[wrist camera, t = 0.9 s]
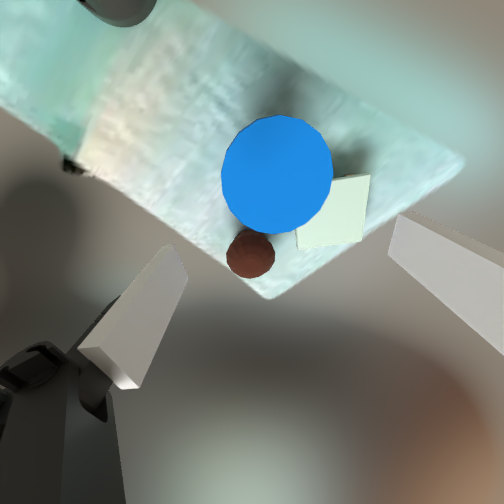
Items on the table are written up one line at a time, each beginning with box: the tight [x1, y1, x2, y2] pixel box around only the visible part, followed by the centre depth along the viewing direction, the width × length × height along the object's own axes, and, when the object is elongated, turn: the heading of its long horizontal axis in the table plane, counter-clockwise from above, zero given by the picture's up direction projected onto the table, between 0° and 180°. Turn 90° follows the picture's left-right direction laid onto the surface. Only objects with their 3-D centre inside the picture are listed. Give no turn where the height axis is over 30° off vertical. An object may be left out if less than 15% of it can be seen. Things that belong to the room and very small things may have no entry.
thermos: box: [221, 115, 333, 234], centre depth 28 cm, size 11×11×25 cm
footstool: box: [295, 173, 371, 250], centre depth 42 cm, size 14×14×6 cm
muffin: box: [226, 229, 275, 279], centre depth 45 cm, size 12×11×10 cm
